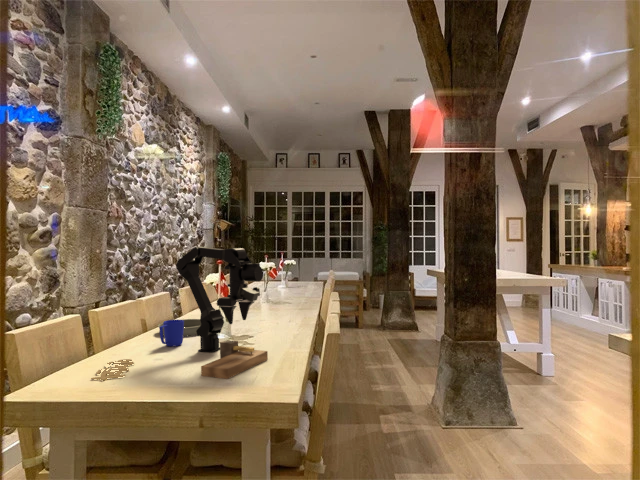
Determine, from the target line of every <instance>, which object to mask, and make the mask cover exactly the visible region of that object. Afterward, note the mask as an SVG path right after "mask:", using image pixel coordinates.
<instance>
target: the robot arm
mask: <svg viewBox="0 0 640 480" xmlns="http://www.w3.org/2000/svg"><path fill="white" fill-rule="evenodd" d="M203 258H209V259H218V260H222V261H224V262H226V263H227V264H226V265H225V266H224V268H223V269H225V270H229V277H228V279H229V282H228V283H227V288H229V294H227V296H221V297H219V298H217V300H216V306H218V308H219V309H215V308H214V306H213V305H212V302H211V300H210V297H209V296H208V293H207V292H206V289H205V287H204V284H203V282H202V280H201V277H200V270H201V269H200V266H199V265H200V264H201V263H202V262H203V260H204V259H203ZM175 269H176V270H177V272H178V273H179V274H180V276H181V277H182V278H183V279H184V280H185V281H186V282H187V284H188V286H189V288H190V291H191V293H192V296H193V297H194V298H193V299H194V300H195V302H196V304H197V307H198V310H199V311H200V318H199V319H200V321H201V326H200V327H199V328H198V329H197V330H196V332H197V335H196V336H197V337H200V348H199V349H197V351H198V352H206V353H214V352H216V351H220V338H219V334H221V333H222V329H223V327H224V324H225V320H224V319H225V318H226V320H227V321H228V324H229V325H233V321H234V312H235V310H236V308H237V305H236V304H237V303H238V306H239V311H240V313H241V315H240V316H241V318H242V320H243V321H246V320H247V317H248V314H249V311H250V307H251V305H253V304H255V301H257V300H258V297H260V296H261V294H260V293H261V291H260V288H259V287H257V286H254V287H253V288H250V287H248V283H245V282H261V281H262V280H263V278H264V269H263V268H262V267H261V264H260V262H258V263H253V262H252V261H251V259H250V257H249V256H248V254H247V251H246V250H245V248H243V247H242V248H241V247H238V248H237V247H234V248H233V247H230V248H224V249H223V248H215V247H206V246H205V247H204V246H194V247H193V248H192V249H190V251H188V252H187V253H186V254H184V255H183V256H181V258H179V259H178V260H177V262H176V264H175ZM223 314H224V316H225V317H224V316H223Z"/></svg>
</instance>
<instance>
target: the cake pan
mask: <svg viewBox="0 0 640 480" xmlns="http://www.w3.org/2000/svg"><path fill="white" fill-rule="evenodd" d="M182 320H184V327H185V328H184V329H183V337H188V336H187V335H192V336H197V332H196V330H197V329H198V328H199V327H200V326H201V321H200V318H186V319H185V318H183V319H182ZM163 325H164V324H163V322H162V323H159V324H157V327H158V328H159V327H160V326H163ZM163 334H164V327H163Z"/></svg>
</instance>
